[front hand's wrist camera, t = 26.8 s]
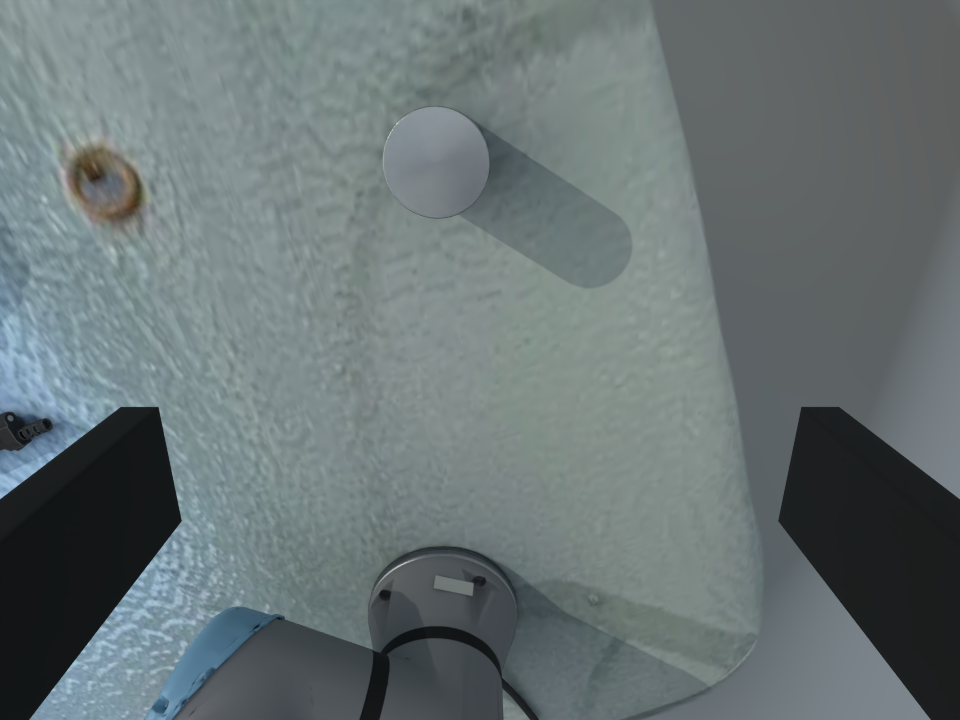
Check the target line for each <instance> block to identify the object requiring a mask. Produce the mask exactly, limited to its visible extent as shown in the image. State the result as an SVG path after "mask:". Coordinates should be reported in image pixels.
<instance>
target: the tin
mask: <svg viewBox="0 0 960 720" xmlns="http://www.w3.org/2000/svg"><path fill="white" fill-rule="evenodd" d="M489 170H490V157H489V151H488V146H487V142H486V139H485V137H484V134H483V133H482V131H481V129H480V128H479V127H478V125H477V124H476V123H475V122H474V121H473V120H472V119H470V118H469V117H467V116H466V115H464V114H462V113H460V112H458V111H456V110H453V109H451V108H447V107H442V106H428V107H422V108H419V109H416V110H414V111H412V112H410V113H408V114H407V115H405V116H404V117H403V118H402V119H400V120H399V121H398V122H397V124H396V125H395V126H394V127H393V129H392V130H391V132H390V133H389V136H388V138H387V140H386V143H385V146H384V151H383V171H384V175H385V179H386V182H387V184H388V186H389V188H390V190H391V192H392V193H393V195H394V196H395V198H396V199H397V200H398V201H399V202H400V203H401V204H402V205H403V206H404V207H406V208H407V209H409V210H410V211H412V212H414V213H416V214H418V215H421V216H424V217H428V218H447V217H452V216H455V215H457V214H459V213H462V212H463V211H465V210H466V209H468V208H469V207H470V206H472V205H473V204H474V203H475V202H476V200H477V199H478V198H479V197H480V195H481V194H482V192H483V190H484V188H485V186H486V183H487V180H488V176H489Z"/></svg>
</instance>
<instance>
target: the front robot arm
mask: <svg viewBox="0 0 960 720" xmlns="http://www.w3.org/2000/svg"><path fill="white" fill-rule="evenodd" d="M181 521H182V520H181V515H180V510H179V506H178V501H177V496H176V491H175V486H174V481H173V476H172V471H171V466H170V461H169V456H168V451H167V447H166V442H165V437H164V432H163V427H162V422H161V417H160V412H159V407H120V408H119V409H118V410H116V411H115V412H114V413H113V414H111V415H110V416H109V417H107V418H106V419H105V420H103V421H102V422H101V423H99V424H98V425H97V426H96V427H94V428H93V429H92V430H90V431H89V432H88V433H86V434H85V435H84V436H82V437H81V438H80V439H79V440H77V441H76V442H75V443H73V444H72V445H71V446H69V447H68V448H67V449H65V450H64V451H63V452H62V453H60V454H59V455H58V456H56V457H55V458H54V459H52V460H51V461H50V462H48V463H47V464H46V465H45V466H43V467H42V468H41V469H39V470H38V471H37V472H35V473H34V474H33V475H31V476H30V477H29V478H28V479H26V480H25V481H24V482H22V483H21V484H20V485H18V486H17V487H16V488H14V489H13V490H12V491H11V492H9V493H8V494H7V495H5V496H4V497H3V498H1V499H0V720H29V719H30V718H31V717H32V715H33V714H34V713H35V711H36V710H37V709H38V708H39V706H40V705H41V704H42V702H43V701H44V700H45V698H46V697H47V696H48V695H49V693H50V692H51V691H52V689H53V688H54V687H55V685H56V684H57V683H58V681H59V680H60V679H61V678H62V676H63V675H64V674H65V672H66V671H67V670H68V668H69V667H70V666H71V665H72V663H73V662H74V661H75V659H76V658H77V657H78V655H79V654H80V653H81V652H82V650H83V649H84V648H85V646H86V645H87V644H88V642H89V641H90V640H91V638H92V637H93V636H94V635H95V633H96V632H97V631H98V629H99V628H100V627H101V625H102V624H103V623H104V622H105V620H106V619H107V618H108V616H109V615H110V614H111V612H112V611H113V610H114V609H115V607H116V606H117V605H118V603H119V602H120V601H121V599H122V598H123V597H124V596H125V594H126V593H127V592H128V590H129V589H130V588H131V586H132V585H133V584H134V582H135V581H136V580H137V579H138V577H139V576H140V575H141V573H142V572H143V571H144V569H145V568H146V567H147V566H148V564H149V563H150V562H151V560H152V559H153V558H154V556H155V555H156V554H157V553H158V551H159V550H160V549H161V547H162V546H163V545H164V543H165V542H166V541H167V540H168V538H169V537H170V536H171V534H172V533H173V532H174V530H175V529H176V528H177V526H178V525H179V524H180V523H181ZM778 521H779V523H780V524H781V525H782V526H783V528H784V529H785V530H786V532H787V533H788V534H789V536H790V537H791V538H792V539H793V541H794V542H795V543H796V545H797V546H798V547H799V549H800V550H801V551H802V553H803V554H804V555H805V556H806V558H807V559H808V560H809V562H810V563H811V564H812V566H813V567H814V568H815V569H816V571H817V572H818V573H819V575H820V576H821V577H822V579H823V580H824V581H825V582H826V584H827V585H828V586H829V588H830V589H831V590H832V592H833V593H834V594H835V596H836V597H837V598H838V599H839V601H840V602H841V603H842V604H843V606H844V607H845V609H846V610H847V611H848V612H849V614H850V615H851V616H852V618H853V619H854V620H855V622H856V623H857V624H858V625H859V627H860V628H861V629H862V631H863V632H864V633H865V635H866V636H867V637H868V638H869V640H870V641H871V642H872V644H873V645H874V646H875V648H876V649H877V650H878V652H879V653H880V654H881V655H882V657H883V658H884V659H885V661H886V662H887V663H888V665H889V666H890V667H891V668H892V670H893V671H894V672H895V674H896V675H897V676H898V678H899V679H900V680H901V681H902V683H903V684H904V685H905V687H906V688H907V689H908V691H909V692H910V693H911V694H912V696H913V697H914V698H915V700H916V701H917V702H918V704H919V705H920V706H921V708H922V709H923V710H924V711H925V713H926V714H927V715H928V717H929V718H930V719H931V720H960V499H959V498H957V497H956V496H955V495H953V494H952V493H951V492H949V491H948V490H947V489H946V488H944V487H943V486H942V485H940V484H939V483H938V482H936V481H935V480H934V479H932V478H931V477H930V476H929V475H927V474H926V473H925V472H923V471H922V470H921V469H919V468H918V467H917V466H915V465H914V464H913V463H912V462H910V461H909V460H908V459H906V458H905V457H904V456H902V455H901V454H900V453H898V452H897V451H896V450H895V449H893V448H892V447H891V446H889V445H888V444H887V443H885V442H884V441H883V440H881V439H880V438H879V437H878V436H876V435H875V434H874V433H872V432H871V431H870V430H868V429H867V428H866V427H864V426H863V425H862V424H861V423H859V422H858V421H857V420H855V419H854V418H853V417H851V416H850V415H849V414H847V413H846V412H845V411H844V410H842V409H841V408H840V407H801V412H800V417H799V422H798V427H797V432H796V437H795V442H794V447H793V451H792V457H791V462H790V466H789V471H788V476H787V481H786V486H785V491H784V496H783V501H782V506H781V510H780V515H779V520H778ZM517 618H518V614H517V600H516V595H515V591H514V589H513V586H512V584H511V582H510V580H509V579H508V577H507V576H506V575H505V574H504V572H503V571H502V570H501V569H500V568H499V567H498V566H497V565H495V564H494V563H493V562H491V561H490V560H488V559H486V558H485V557H483V556H481V555H479V554H476V553H474V552H471V551H468V550H464V549H460V548H454V547H430V548H424V549H419V550H416V551H413V552H410V553H408V554H405V555H403V556H401V557H400V558H398V559H396V560H395V561H393V562H392V563H391V564H390V565H388V566H387V567H386V568H385V569H384V570H383V572H382V573H381V574H380V575H379V577H378V578H377V580H376V582H375V584H374V587H373V590H372V594H371V598H370V602H369V608H368V623H369V629H370V635H371V640H372V646H373V650H371V649H369V648H366V647H363V646H360V645H357V644H354V643H351V642H348V641H345V640H343V639H340V638H337V637H334V636H331V635H328V634H325V633H322V632H319V631H317V630H314V629H311V628H308V627H305V626H302V625H299V624H296V623H294V622H291V621H288V620H285V617H284V616H282V615H279V614H275V615H269V614H266V613H263V612H259V611H256V610H252V609H249V608H245V607H232V608H229V609H227V610H224V611H223V612H221V613H220V614H218V615H217V616H215V617H214V618H213V619H212V620H211V621H210V622H209V623H208V624H207V625H206V627H205V628H204V629H203V630H202V631H201V633H200V634H199V635H198V636H197V638H196V639H195V640H194V642H193V643H192V644H191V646H190V647H189V649H188V650H187V651H186V653H185V654H184V656H183V657H182V659H181V660H180V662H179V663H178V665H177V666H176V668H175V669H174V671H173V672H172V674H171V675H170V677H169V678H168V680H167V682H166V683H165V685H164V687H163V688H162V690H161V693H160V696H159V699H157V700H156V702H155V703H154V705H153V707H152V708H151V710H150V711H149V713H148V714H147V716H146V717H145V719H144V720H503V697H502V688H503V689H504V690H505V691H506V692H507V693H508V694H509V695H510V696H511V697H512V698H513V699H514V700H515V701H516V703H517V704H518V705H519V706H520V707H521V709H522V710H523V711H524V712H525V714H526V715H527V716H528V717H529V719H530V720H539V719H538V718H537V717H536V716H535V714H534V713H533V712H532V711H531V709H530V708H529V707H528V705H527V704H526V703H525V702H524V701H523V699H522V698H521V697H520V696H519V695H518V694H517V692H516V691H515V690H514V689H513V688H512V687H511V686H510V685H509V684H508V683H507V682H506V681H505V680H504V679H503V678H502V669H503V666H504V663H505V661H506V658H507V655H508V652H509V649H510V646H511V644H512V641H513V638H514V635H515V631H516V625H517Z"/></svg>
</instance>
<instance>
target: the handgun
mask: <svg viewBox="0 0 960 720" xmlns="http://www.w3.org/2000/svg"><path fill="white" fill-rule="evenodd" d="M43 424H44V425H45V427H46V428H45V427H44V426H43ZM34 426H36V428H37V430H38V431H39V433H37V430H36V428H35V427H34ZM52 427H53V425H52V422H51V421H50V420H49V419H46V418H44V419H42V420H39V421H37V422H34V423H32V424H29V425H27V426H24V424H23V423H22V421H21V420H20V419H18V418H17V416H16V415H15V414H14V413H12V412H6V413H3V414H1V415H0V450H3V449H6V450H9V451H13V450H16V451H19V450H21V449H22V448H23V447H24V446H26V445H27V444H28V443H29V442H31V441H32V440H31V438H32V437H35V436H37V435H40V434H42V433H45V432H47V431H50V430H51V429H52ZM27 429H29V431H30V433H31V434H32V435H30V433H29V431H28V430H27Z"/></svg>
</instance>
